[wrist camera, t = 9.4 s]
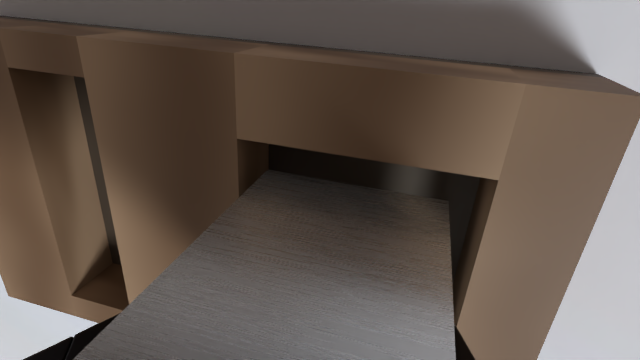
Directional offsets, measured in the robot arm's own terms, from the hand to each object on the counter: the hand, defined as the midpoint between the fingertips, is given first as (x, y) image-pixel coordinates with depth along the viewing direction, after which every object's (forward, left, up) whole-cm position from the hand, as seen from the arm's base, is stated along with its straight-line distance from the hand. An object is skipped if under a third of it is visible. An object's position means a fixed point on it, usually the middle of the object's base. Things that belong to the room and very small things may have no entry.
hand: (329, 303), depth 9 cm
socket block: (-3, +2, -4) cm, 6 cm away
